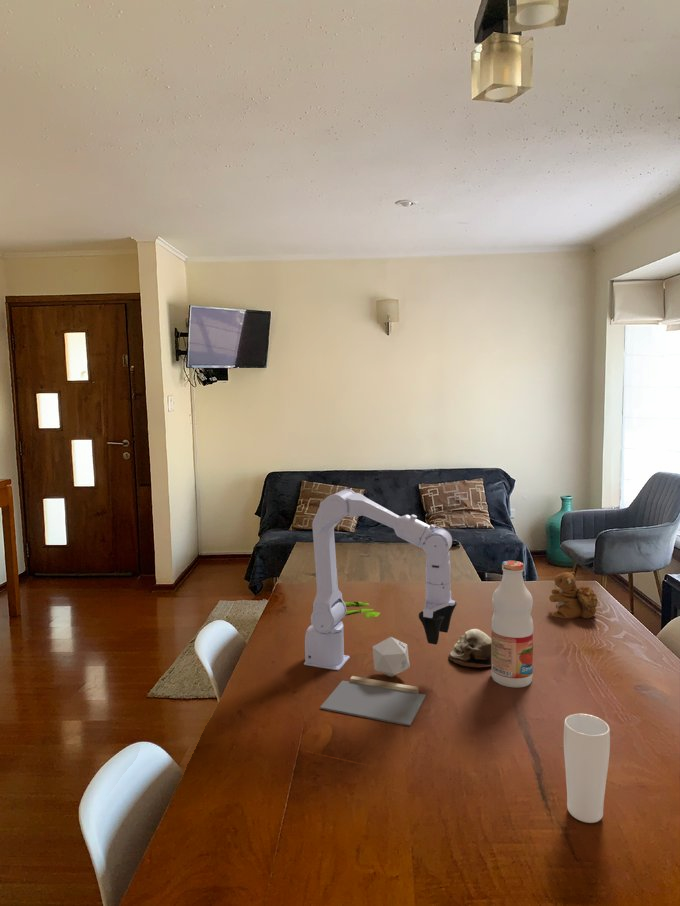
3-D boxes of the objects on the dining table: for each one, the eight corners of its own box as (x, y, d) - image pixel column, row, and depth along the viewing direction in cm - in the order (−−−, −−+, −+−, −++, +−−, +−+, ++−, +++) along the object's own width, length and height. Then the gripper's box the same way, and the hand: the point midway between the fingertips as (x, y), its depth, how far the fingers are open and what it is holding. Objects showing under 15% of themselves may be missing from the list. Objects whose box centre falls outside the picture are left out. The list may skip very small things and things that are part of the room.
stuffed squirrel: (555, 606, 190) (555, 565, 189) (602, 615, 182) (604, 573, 180) (545, 616, 182) (545, 573, 181) (594, 626, 174) (595, 581, 172)
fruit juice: (492, 668, 148) (493, 556, 146) (532, 672, 146) (534, 559, 143) (489, 685, 140) (490, 567, 137) (532, 691, 137) (534, 570, 134)
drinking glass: (555, 800, 100) (556, 714, 99) (594, 797, 101) (596, 711, 99) (574, 829, 93) (576, 737, 92) (616, 826, 94) (619, 734, 92)
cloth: (386, 623, 181) (386, 615, 180) (312, 624, 181) (312, 616, 181) (382, 600, 201) (382, 593, 201) (316, 601, 201) (316, 594, 201)
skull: (444, 663, 148) (446, 624, 155) (451, 680, 155) (453, 641, 162) (494, 665, 144) (494, 625, 151) (499, 682, 151) (499, 642, 158)
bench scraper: (320, 708, 131) (320, 707, 131) (342, 682, 143) (342, 680, 143) (410, 726, 123) (410, 724, 123) (425, 696, 135) (425, 694, 135)
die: (408, 686, 140) (408, 645, 139) (369, 683, 142) (369, 642, 141) (411, 670, 148) (411, 630, 147) (375, 667, 150) (374, 628, 149)
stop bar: (350, 683, 142) (350, 678, 142) (352, 680, 143) (352, 675, 143) (416, 694, 136) (416, 689, 136) (418, 692, 137) (418, 686, 137)
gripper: (444, 592, 133) (444, 652, 135) (463, 574, 146) (463, 629, 147) (414, 588, 137) (414, 646, 138) (435, 571, 149) (435, 624, 151)
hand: (438, 637), depth 143 cm, fingers open, 7 cm apart
